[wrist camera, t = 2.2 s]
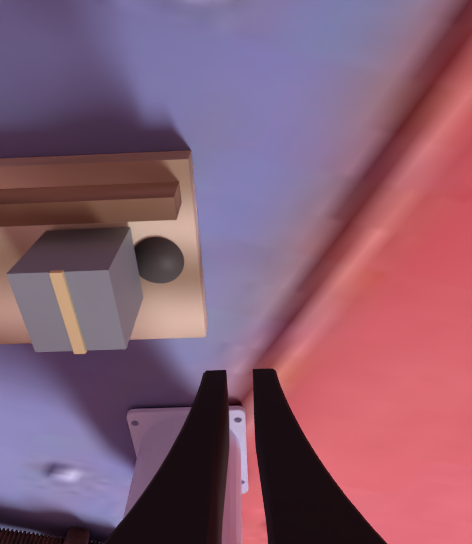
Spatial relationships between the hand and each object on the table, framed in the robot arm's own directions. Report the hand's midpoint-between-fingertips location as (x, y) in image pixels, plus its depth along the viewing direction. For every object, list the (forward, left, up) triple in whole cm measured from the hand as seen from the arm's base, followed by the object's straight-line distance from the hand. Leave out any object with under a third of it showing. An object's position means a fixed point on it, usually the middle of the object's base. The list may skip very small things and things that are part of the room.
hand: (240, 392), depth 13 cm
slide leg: (0, +7, -9) cm, 11 cm away
